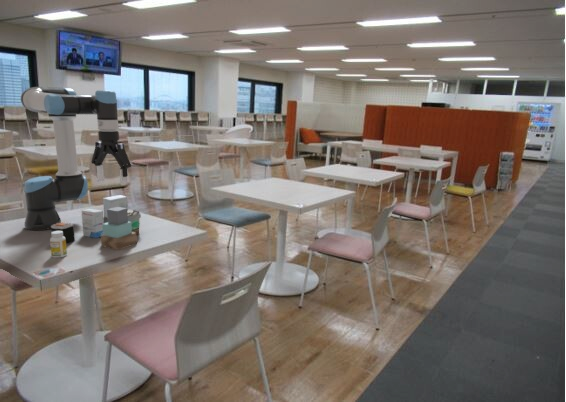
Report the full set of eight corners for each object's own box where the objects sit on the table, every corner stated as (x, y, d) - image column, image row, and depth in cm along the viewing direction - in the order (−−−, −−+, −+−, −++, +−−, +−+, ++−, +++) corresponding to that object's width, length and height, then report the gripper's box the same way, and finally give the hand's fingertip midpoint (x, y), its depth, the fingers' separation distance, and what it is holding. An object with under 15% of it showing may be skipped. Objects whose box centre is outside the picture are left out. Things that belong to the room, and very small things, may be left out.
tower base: (101, 246, 171) (100, 235, 170) (120, 239, 180) (119, 229, 179) (117, 250, 167) (117, 239, 166) (136, 243, 176) (136, 232, 174)
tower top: (103, 235, 170) (102, 223, 169) (118, 230, 177) (117, 219, 176) (117, 238, 167) (116, 226, 166) (131, 233, 174) (131, 221, 173)
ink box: (105, 235, 184) (103, 210, 182) (96, 238, 180) (94, 212, 177) (92, 232, 188) (89, 207, 185) (82, 235, 184) (80, 210, 181)
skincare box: (111, 219, 209) (109, 199, 206) (103, 217, 212) (102, 197, 210) (128, 215, 217) (127, 196, 215) (121, 213, 221) (119, 194, 218)
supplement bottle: (55, 259, 156) (52, 235, 154) (49, 255, 159) (46, 232, 157) (69, 255, 160) (67, 232, 158) (63, 252, 163) (61, 229, 161)
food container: (132, 239, 180) (131, 217, 178) (119, 238, 181) (118, 216, 179) (147, 231, 192) (145, 210, 189) (135, 230, 193) (133, 209, 191)
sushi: (63, 245, 170) (61, 227, 168) (48, 242, 173) (46, 224, 171) (78, 239, 178) (77, 222, 176) (64, 237, 180) (62, 220, 179)
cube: (108, 223, 170) (107, 209, 168) (118, 220, 175) (117, 206, 173) (118, 225, 168) (117, 211, 166) (128, 221, 172) (127, 208, 171)
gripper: (79, 129, 165) (83, 180, 169) (123, 132, 153) (126, 187, 158) (95, 128, 171) (99, 178, 176) (138, 131, 160) (141, 184, 165)
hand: (112, 182), depth 167 cm, fingers open, 13 cm apart
